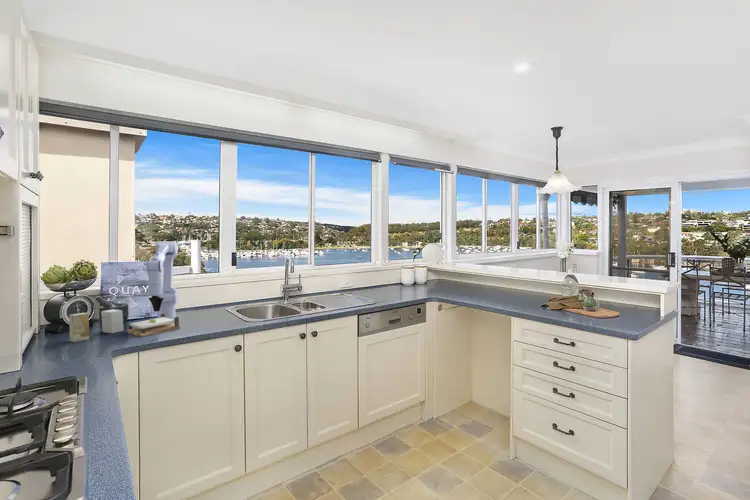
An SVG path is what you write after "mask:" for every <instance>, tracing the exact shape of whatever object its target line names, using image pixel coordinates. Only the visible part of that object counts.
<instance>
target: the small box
mask: <svg viewBox="0 0 750 500" xmlns="http://www.w3.org/2000/svg"><path fill="white" fill-rule="evenodd" d="M100 314H101V326H102V327H101V328H102V333H108V334H115V333H119V332H123V331H124V317H123V315H124V314H123V310H121V309H112V308H111V309H107V310H101V313H100Z"/></svg>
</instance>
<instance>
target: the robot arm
mask: <svg viewBox="0 0 750 500" xmlns="http://www.w3.org/2000/svg"><path fill="white" fill-rule="evenodd" d="M155 251H156V252H155V253H154V254H153V255H152V257H151V259H150V260H148V261H147V262H146V265H145V266H146V267H145V268H146V271H147V274H146V275H147V276H148V289H149V290H148V292H146V293H147V294H146V296H147V297H148V300H149V302H150V304H151V306H152V309H153V311H154V312H157V318H161V314H165V317H167V318H171V319H174V317H177V316H176V304H178V302H179V292H178V290H177V289H176V288H175V287H173V280H174V279H173V277H174V275H173V274H174V260H175V258H176V257H178V243H177V242H176V241H157V242H156V243H155Z"/></svg>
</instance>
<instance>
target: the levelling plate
mask: <svg viewBox="0 0 750 500" xmlns="http://www.w3.org/2000/svg"><path fill="white" fill-rule="evenodd" d="M168 323H171V324H173V323H175V322H174V319H171V318H167V317H161V318H158V317H157V318H149V319H147V320H141V321H136V322H132V323H131V322H130V324H129V326H132V328H136V327H137V328H140V329H144V328H148V327H153V326H158V325H163V324H168Z"/></svg>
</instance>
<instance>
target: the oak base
mask: <svg viewBox="0 0 750 500" xmlns="http://www.w3.org/2000/svg"><path fill="white" fill-rule="evenodd" d="M161 317H165V314H161ZM179 317H180V316H176V317H174V322H173V323H168V324H163V325H158V326H153V327H148V328H144V329H140V328H137V327H133V326H130V325H128V328H126V333H127V334H131V335H133V336H136V337H137V336H138V337H140V338H143V337H147V336H152V335H156V334H162V333H166V332H171V331H174V330H175V331H176V330H180V328H181V327H180V318H179Z"/></svg>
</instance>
